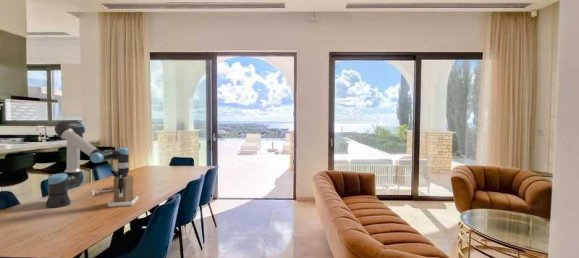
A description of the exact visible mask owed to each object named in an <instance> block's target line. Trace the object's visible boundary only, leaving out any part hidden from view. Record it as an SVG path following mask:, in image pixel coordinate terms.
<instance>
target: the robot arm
mask: <svg viewBox="0 0 579 258" xmlns="http://www.w3.org/2000/svg"><path fill="white" fill-rule="evenodd" d="M86 131H87V127H86V125H85V123H84V122H83V121H81V120H76V119H75V120H74V119H73V120H61V121H58V122H57V123H56V124H55V126H54V132H55V134H56V135H57V136H58V137H59V138H60V139H62V140H66V169H65V170H64V171H63V172H60V173H55V174H52V175H50V176H49V177H48V181H47V185H48V187H47V189H48V197H47V200H46V202H45V207H46V208H49V209H52V208H53V209H55V208H62V207H66V206H69V205H70V204H71V203H72V201H71V198H70V197H69V194H68V193H69V192H68V190H69V189H72V188H76V187H77V188H78V187H79V186H81V185H82V184H84V182H85V181H86V176H85V173H84V172H82V171H83V170H82V169H81V168H80V164H81V163H80V162H81V161H80V160H81V155H80V154H81V152H83V153H84V154H85V155H87V156H88V157H89V159H90V161H91V162H92V163H95V164H98V163H103V162H107V161H117V173H118V174H120V175H118V176H119V183H118V189H119V197H123V184H122V182H123V177H126V176H127V175H129V171H130V168H129V166H130V161H129V159H130V158H129V157H130V153H129V151H130V150H129V148H128V147H119V148H117V150H114V149H113V150H112V149H105V150H103V151H102V150H100V149H99V148H97V147H96V146H94V144H91V143H90V142H89V141H87V140H86V139H85V138H83V134H85V133H86Z"/></svg>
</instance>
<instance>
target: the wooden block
mask: <svg viewBox="0 0 579 258" xmlns="http://www.w3.org/2000/svg"><path fill="white" fill-rule="evenodd" d="M119 176H120V175H117V176H114V177H113V199H114V202H130V201H132V200H133V196H134V175H129V174H128V175H127V176H126V177H123V182H122V184H123V197H119V189H118V183H119Z"/></svg>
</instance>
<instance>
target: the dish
mask: <svg viewBox="0 0 579 258" xmlns="http://www.w3.org/2000/svg"><path fill="white" fill-rule="evenodd" d="M137 200H138V201H139V195H136V196H135V195H133V200H132V201H130V202H114V198H112V200H110V201H109V202H107V207H109V208H111V207H113V208H116V207H115V206H117V207H133V206H132V205H133V204H134V203H135V202H136V201H137ZM138 201H137V202H138ZM137 202H136V203H137ZM136 203H135V204H136ZM135 204H134V205H135Z"/></svg>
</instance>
